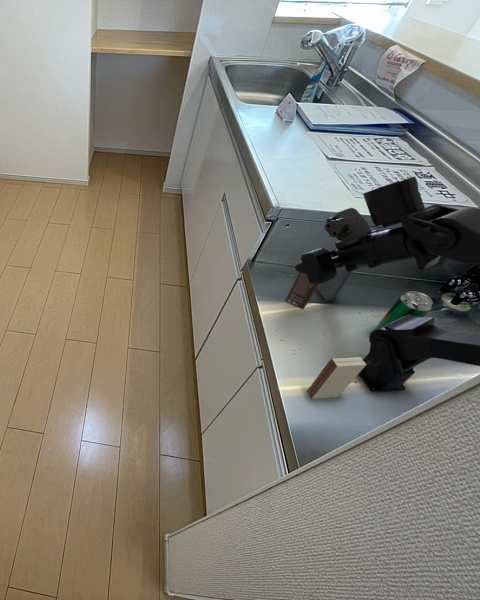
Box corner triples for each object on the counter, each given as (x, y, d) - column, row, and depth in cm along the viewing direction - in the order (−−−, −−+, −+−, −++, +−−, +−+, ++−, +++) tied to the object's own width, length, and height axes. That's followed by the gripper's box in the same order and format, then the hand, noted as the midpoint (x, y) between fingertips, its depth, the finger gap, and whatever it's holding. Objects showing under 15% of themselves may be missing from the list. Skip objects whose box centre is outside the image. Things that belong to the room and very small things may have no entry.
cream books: (337, 397, 67) (366, 364, 60) (311, 398, 67) (336, 366, 60) (332, 389, 68) (360, 356, 61) (306, 391, 69) (331, 358, 61)
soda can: (374, 343, 76) (407, 305, 67) (369, 326, 79) (399, 288, 71) (402, 348, 74) (439, 309, 66) (395, 330, 78) (429, 292, 69)
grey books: (334, 300, 85) (356, 266, 78) (325, 301, 85) (346, 266, 78) (325, 289, 88) (345, 255, 80) (317, 290, 88) (337, 256, 81)
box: (304, 310, 78) (325, 268, 70) (283, 302, 81) (302, 260, 73) (314, 297, 81) (336, 255, 73) (294, 289, 84) (313, 247, 76)
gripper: (406, 190, 63) (327, 217, 78) (331, 217, 58) (262, 240, 73) (426, 248, 63) (343, 263, 78) (353, 279, 58) (280, 290, 73)
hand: (308, 263), depth 76 cm, fingers closed on box, 7 cm apart
